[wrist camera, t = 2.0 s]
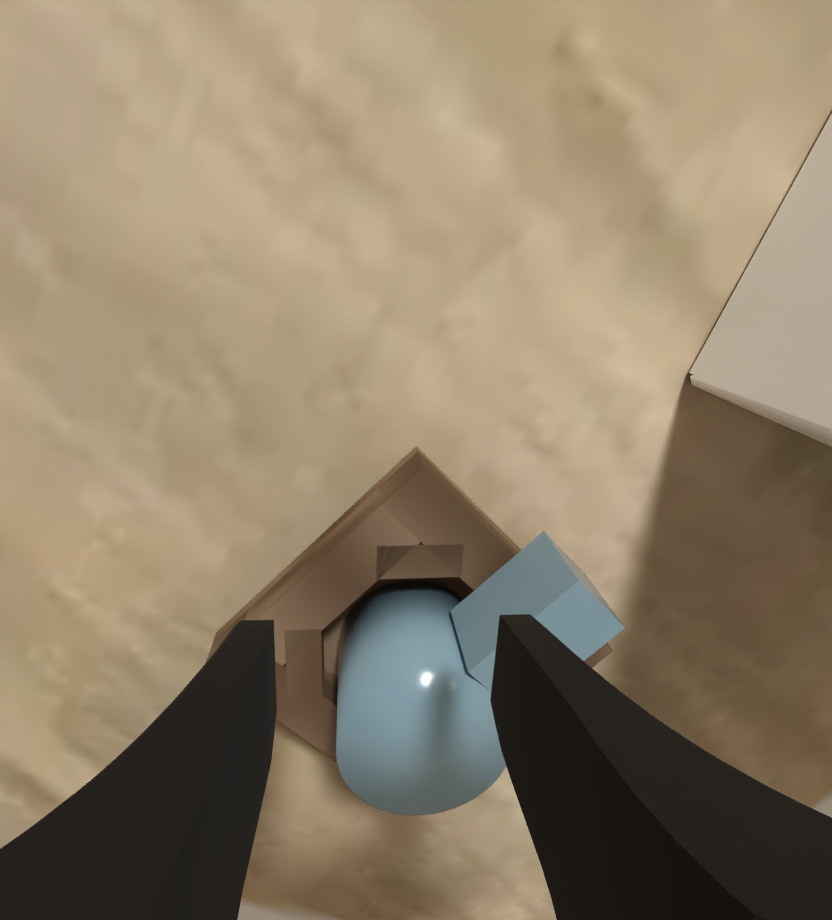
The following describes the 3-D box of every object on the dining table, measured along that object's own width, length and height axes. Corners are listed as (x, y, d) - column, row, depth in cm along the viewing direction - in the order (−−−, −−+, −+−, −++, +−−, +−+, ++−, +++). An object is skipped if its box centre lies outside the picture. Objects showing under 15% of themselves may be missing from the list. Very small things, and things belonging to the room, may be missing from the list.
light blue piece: (406, 721, 23) (421, 841, 18) (308, 645, 22) (297, 755, 17) (588, 570, 22) (654, 658, 17) (498, 477, 20) (544, 545, 15)
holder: (405, 770, 25) (410, 813, 23) (216, 632, 21) (203, 669, 20) (591, 618, 23) (612, 651, 21) (416, 446, 20) (423, 466, 18)
